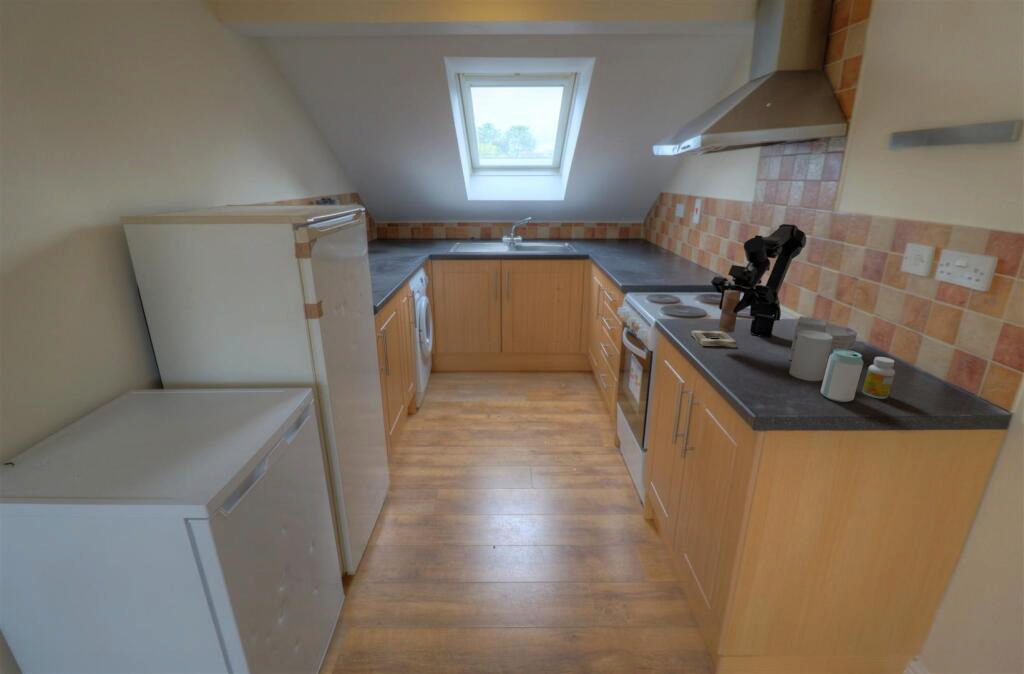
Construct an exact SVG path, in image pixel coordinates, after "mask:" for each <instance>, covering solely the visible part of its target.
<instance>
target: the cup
mask: <svg viewBox="0 0 1024 674" xmlns="http://www.w3.org/2000/svg"><path fill="white" fill-rule="evenodd" d="M832 339H833V337H832V336H831V335H829V334H826V333H823V332H818V331H810V330H802V331H799V332H798V336H797V340H796V345H795V349H794V354H793V358H792V360H791V364H790V369H789V374H790V375H791V376H793V377H794V378H797V379H801V380H803V381H809V382H810V381H811V382H818V381H823V379H824V375H825V371H826V367H827V363H828V359H829V352H830V348H831V343H832Z"/></svg>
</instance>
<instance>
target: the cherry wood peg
mask: <svg viewBox="0 0 1024 674" xmlns="http://www.w3.org/2000/svg"><path fill="white" fill-rule="evenodd" d="M741 294H742V293H741V292H739V291H735V290H725V292H724V298H723V304H722V309H721V310H720V317H719V318H720V319H719V324H718V331H723V332H725V333H734V332H735V327H736V322H737V317H738V312H737V313H734V312H733V311H734V309H735V307H736V306H737V304H738V303H739V302H740V300H741V296H742V295H741Z"/></svg>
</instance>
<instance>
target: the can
mask: <svg viewBox="0 0 1024 674" xmlns="http://www.w3.org/2000/svg"><path fill="white" fill-rule="evenodd" d="M862 357H863V355H862V354H861V353H859V352H857V351H854V350H851V349H848V350H844V349H836V350H834V352H833V353H832V354H831V355H830V356H828V360H827V364H826V368H825V372H824V376H823V379H822V384H821V389H820V393H821V394H822V395H823V396H824V397H825V398H827V399H828V400H831V401H834V402H839V403H848V402H851V401H853V400H854V398H855V396H856V391H857V388H858V386H859V385H858V384H859V381H860V376H861V373H862V369H863V366H864V360H863V358H862Z"/></svg>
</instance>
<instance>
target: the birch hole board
mask: <svg viewBox="0 0 1024 674" xmlns="http://www.w3.org/2000/svg"><path fill="white" fill-rule="evenodd" d="M691 335H692V336H693V337H694V338H695V339H696V340H697V341H698V342H699V343H700V344H701V345H702V346H701V345H700V344H699V343H698V342H697V341H696V340H695V341H696V342H697V343H698V344H699V345H700V346H701V347H703V346H728V347H727V348H737V341H736V340H735V339H734V338H733V337H731V336H730V335H728V334H727V332H723V331H720V330H691V331H690V336H691ZM706 337H719V338H720V339H711V338H706ZM729 346H730V347H729Z"/></svg>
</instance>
